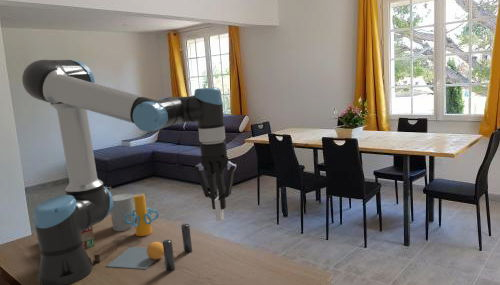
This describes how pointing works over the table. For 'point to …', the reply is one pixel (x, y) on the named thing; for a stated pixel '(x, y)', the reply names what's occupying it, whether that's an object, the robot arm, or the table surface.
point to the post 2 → (186, 238)
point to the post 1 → (168, 255)
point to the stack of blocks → (88, 238)
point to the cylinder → (141, 216)
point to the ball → (155, 250)
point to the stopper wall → (105, 252)
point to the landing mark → (133, 259)
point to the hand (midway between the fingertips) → (220, 219)
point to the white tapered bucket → (122, 211)
